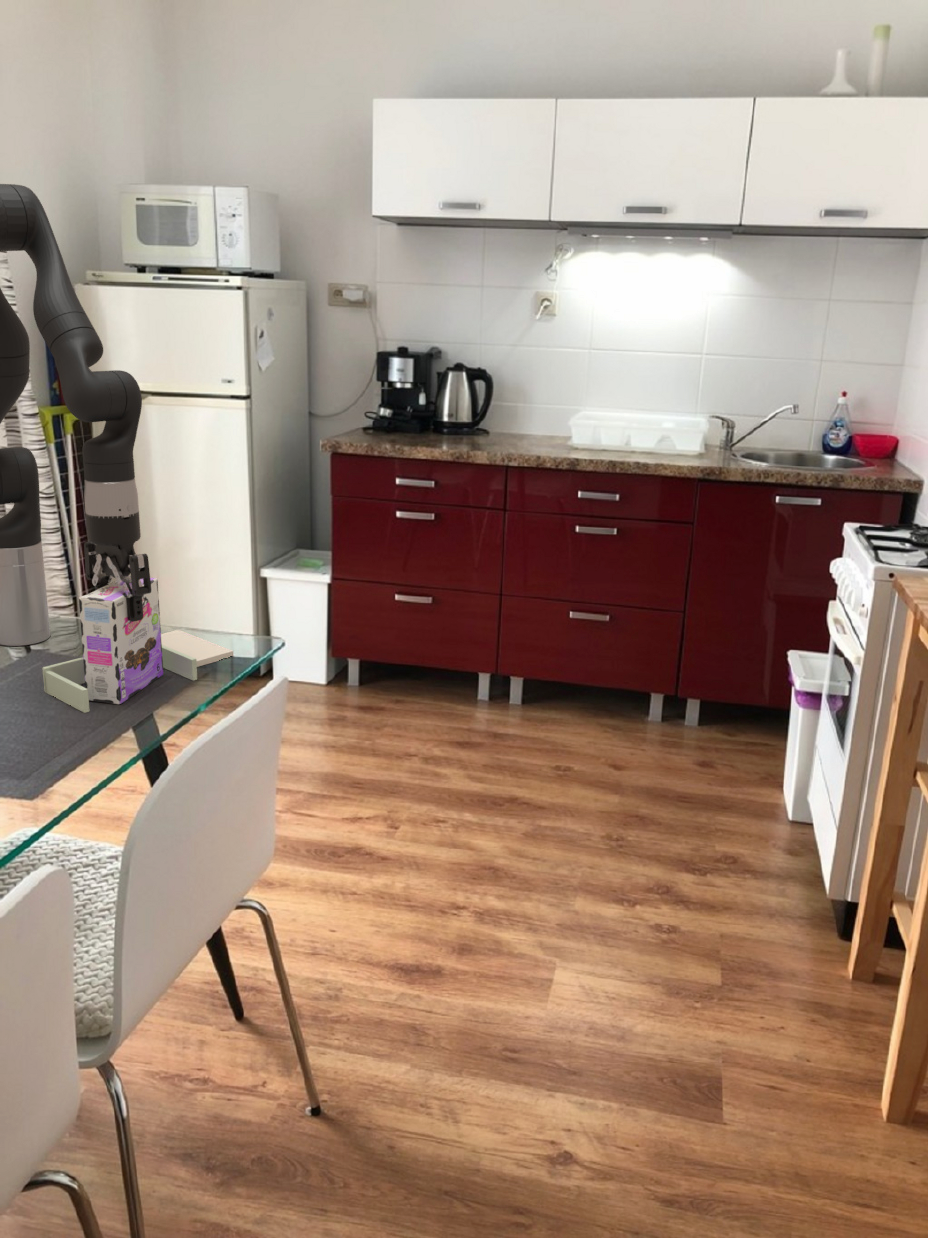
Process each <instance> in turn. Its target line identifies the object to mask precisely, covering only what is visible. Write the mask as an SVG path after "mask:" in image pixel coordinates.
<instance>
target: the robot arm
mask: <svg viewBox="0 0 928 1238" xmlns="http://www.w3.org/2000/svg"><path fill="white" fill-rule="evenodd" d="M55 236H56V235H55V233H54V231H53V228H52V226H51V223H50V220H49V217H48V215H47V213H46V210H45V209H44V207H43V204H42V203H41V201H40V199H39V198H38V195H36V193H35V192H34V191H33V190H32V189H31V188H29V187H27V186H26V185H21V184H15V183H14V184H12V183H7V184H6V183H0V252H20V251H21V252H22V251H24V252H25V253H26V254H27V255H28V256H29V258H30V260H31V261H32V263H33V265H34V267H35V270H36V272H35V273H36V282H35V289H34V294H33V300H32V303H33V304H32V307H33V308H32V309H33V310H32V311H33V317H34V320H35V324H36V326H37V329H38V332H39V333H40V335H41V337H42V338H43V340H44V342H45V344H46V347H47V348H48V349H49V351H50V353H51V355H52V357H53V359H54V361H55V362H54V363H55V365H56V371H57V373H58V377H59V378H58V379H59V381H60V387H61V392H62V397H63V400H64V404H65V407H66V408H67V410H68V411H69V412H70V414H71V415H72V416H73V417H75V418H76V419H78V420H79V421H80V422H85V423H99V422H105V423H104V426H103V430H102V432H101V433H100V434H99V435H96V436H95V437H93V438H90V439H87V440H86V441H85V442H84V443H83V445H82V464H83V475H84V488H83V489H84V490H83V495H84V496H83V497H84V510H85V523H86V524H85V525H86V534H87V535H86V536H87V541H85V542H84V544H83V547H84V548H83V549H84V550H83V552H84V566H85V569H84V571H85V577H86V580H87V581H88V580H89V581H91V583H92V585H93V586H94V587H95V590H97V589H99V588H102V587H104V586H106V585H108V584H110V583H112V582H111V581H112V579H113V578H114V579H115V581H117V582H118V584H119V585H121V586H123V589H124V591H125V593H126V595H127V597H126V601H127V615H128V620H129V621H132V622H134V621H139V620H142V619H143V604H142V596H143V595H144V594H149V593H151V581H150V578H151V571H150V563H149V561H150V560H149V556H148V554H147V553H142V554H141V553H139V554H136V552H135V551H136V550H135V548H134V545H135V543H136V542H137V541H139V540H140V539H141V537H142V536H141V535H142V534H141V525H140V523H141V522H140V510H139V509H140V508H139V496H138V495H139V494H138V489H137V488H138V487H137V484H136V476H135V473H136V472H135V461H134V460H135V459H134V447H135V443H136V439H137V433H138V427H139V423H140V419H141V418H140V417H141V415H142V414H141V413H142V407H143V406H142V405H143V404H142V403H143V399H142V397H143V396H142V392H141V391H142V390H141V389H140V386H139V383H138V381H137V380H136V379H135V377H134V376H133V375H132V374H131V373H129V372H128V371H125V370H118V369H117V370H114V369H113V370H98V371H92V369H90V368H91V367H92V366H94V365H95V364H97V363H98V362H99V361H100V360H101V359H102V358H103V354H104V346H103V343H102V342H103V341H101V338H100V335H98V333H97V331H96V329H95V327H94V325H93V324H92V322H91V320H90V318H89V316H88V315H87V313H86V311H85V309H84V307H83V306H82V303H81V302H80V300H79V297H78V296H77V293H76V291H75V289H74V286H73V284H72V282H71V279H70V276H69V273H68V271H67V267H66V264H65V261H64V259H63V255H62V252H61V249H60V248H59V244H58V241H57V240H56V237H55ZM2 290H3V289H2V288H1V287H0V425H1V424H2V422H3V420H4V418H6V416H7V415H8V413H9V412H10V411H11V409H12V408H13V406H15V403H16V402H17V401H18V400H19V399H20V397H21V395H22V394H23V392H24V390H25V388H26V386H27V384H28V382H29V379H30V362H31V360H30V358H31V357H30V351H31V348H30V347H31V345H30V336H29V334H28V332H27V329H26V327H25V325H24V324H23V322H22V320H21V319H20V317H19V316H18V314H17V313H16V311H15V310H14V308H13V307H12V305H11V304H10V303H9V301H8V299H7V297H6V296H5V294H4V292H3V291H2ZM39 477H40V474H39V468H38V464H37V460H36V458H35V455H34V453H33V452H32V450H30V449H29V448H27V447H23V446H22V447H21V446H18V447H17V446H15V447H14V446H13V447H0V505H8V504H9V505H10V504H13V505H12V508H11V509H10V510H9V512H7V513H6V514H5V515H4V516H2V517H0V645H1V646H8V647H9V646H10V647H13V646H14V647H16V646H17V647H18V646H19V647H20V646H28V645H34V644H39V643H41V642H44V641H46V640H47V639H49V638H50V636H51V629H50V617H49V604H48V596H47V595H48V594H47V584H46V574H45V563H44V562H45V561H44V553H43V541H42V533H41V532H42V519H41V506H40V505H41V503H40V478H39ZM93 565H94V567H93ZM140 579H143V583H144V586H143V585H142V583H141V581H140ZM129 583H132V589H131V587H130V585H129Z"/></svg>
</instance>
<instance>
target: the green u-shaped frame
mask: <svg viewBox="0 0 928 1238" xmlns="http://www.w3.org/2000/svg"><path fill="white" fill-rule="evenodd" d="M162 660H163V669H166V670H168V671H170V672H172V673H175V674H177V675H178V676H182V677H184V678H187V679H188V680H191V681H197V680H198V670H197V669H198V667H197V662H196V659H195V658H193V657H191V656H188V655H186V654H183V653H181V652H178V651H176V650H174V649H171V648H169V647H166V646H164V645H162ZM42 677H43V687H44V688H43V689H44V693H46V694H48V695H50V696H52V697H53V696H54V698H55V697H56V700H59V701H62V702H63V703H65V704H66V705H69V706H70V705H71V707H72V708H75V709H76V710H78V711H80V712H82V713H83V714H85V713H89V712H91V710H90V700H89V698H88V689H86V688H85V686H82V684H85V677H84V662H83V656H82V657H78V658H75V659H74V658H73V659H71V660H67V661H63V662H58V663H55V664H51V665H47V666H43V667H42Z"/></svg>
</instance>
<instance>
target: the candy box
mask: <svg viewBox="0 0 928 1238" xmlns="http://www.w3.org/2000/svg"><path fill="white" fill-rule="evenodd" d="M140 581H141V583H142V585H143V586H144V583H143V579H140ZM150 581H151V593H149V594H144V595H143V596H142V604H143V619H142V620H139V621H134V622H132V621H129V620H128V615H127V601H126V597H127V595H126V593H125V591H124V589H123V586H121V585H119V584H118V582H117V580H114V581H112V582H110V583H108V585H106V586H104V587H102V588H99V589H97V590H96V589H95V590H93V591H92V592H89V593H87V594H85V595H81V596H79V597H78V606H79V618H80V621H79V622H80V633H81V648H82V657H83V662H84V677H85V683H84V688H86V689H88V698H89V701H92V702H99V703H105V704H113V705H120V704H122V703H124V702H126V701H127V700H128V699H130V698H131V697H133V696H134V695H136V694H137V693H139V692H140V691H142V690H143V689H144V688H146V687H147V686H149V685H150V684H151V683H153V682H154V681H156V680H157V679H159V678H161V677H162V676H163V675H164V668H163V660H162V644H161V634H162V630H161V617H160V616H161V614H160V613H161V612H160V611H161V610H160V599H159V596H160V595H159V580H158V577H157V578H155V577H150ZM129 585H130V587H131V589H132V583H129Z"/></svg>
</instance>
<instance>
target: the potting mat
mask: <svg viewBox="0 0 928 1238" xmlns="http://www.w3.org/2000/svg"><path fill="white" fill-rule="evenodd" d="M161 644H162V645H164V646H166V647H169V648H171V649H174V650H176V651H178V652H181V653H183V654H186V655H188V656H191V657H193V658H195V659H196V662H197V668H198V667H201V666H204V665H205V666H206V665H209V664H212V663H215V662H219V660H220V661H222V660H221V659H223V658H227V659H229V658H228V657H230V656H233V657H234V650H231V649H229V648H226V647H223V646H222V645H219V644H216V643H213V642H211V641H209V640H206V639H204V638H201V637H198V636H195V635H193V634H190V633H189V632H185V631H182V630H180V629H175V630H172V631H167V632H164V633H161ZM230 658H231V657H230ZM223 660H224V659H223Z"/></svg>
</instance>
